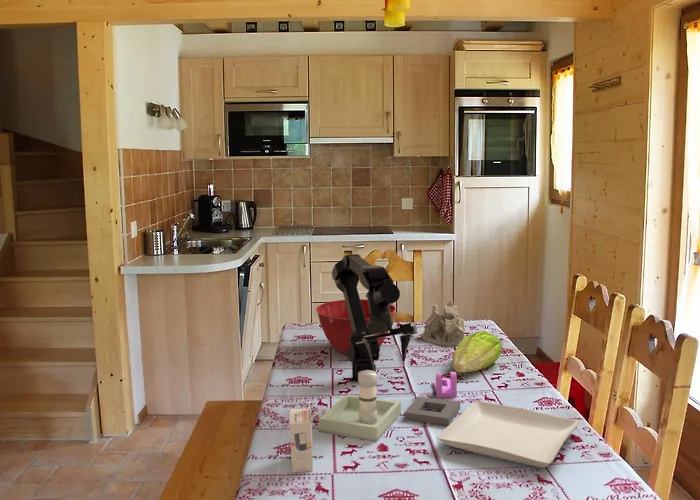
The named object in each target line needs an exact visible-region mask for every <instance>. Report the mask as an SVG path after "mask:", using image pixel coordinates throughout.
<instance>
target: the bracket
mask: <svg viewBox="0 0 700 500" xmlns="http://www.w3.org/2000/svg"><path fill="white" fill-rule="evenodd" d="M435 372H436V373H435V379H434V380H433V386H434V390H435V394H436V398H457V397H458V396H457V395H458V394H457V393H458V392H457V389H458V388H457V386H458V385H457V384H458V383H457V382H458V381H457V371H451V372H450V373H449V374H450V377H449V378H448V377H442V376H443V374H442V372H441V371H435Z"/></svg>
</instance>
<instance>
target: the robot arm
mask: <svg viewBox="0 0 700 500" xmlns="http://www.w3.org/2000/svg"><path fill="white" fill-rule="evenodd" d="M331 275H332V276H331V277H332V280H333V281H334V284H335V286H336V288H337V289H338V290H339V291H341V293H342V294H343V299H344V300H345V302H346V306H347V310H348V314H349V318H350V322H351V326H352V330H353V333H352V334H351V335H350V344H351V346H350V348H349V350H348V353H347V354H346V355H347V360H348V361H349V362H350V363H351V370H352V371H351V372H352V377H351V378H350V382H357V383H358V372H360V371H363V370H372V371H375V372H376V373H377V367H376V366H377V365H376V364H375V361H379V357H380V351H381V346H380V345H379V343H378V341H377V339H376V338H381V337H386V338H387V337H390V336H397V335H399V339H400V347H401V348H400V350H401V359H402V362H403V363H405V361H406V357H407V352H408V347H409V344H410V341H411V338H414V335H416V334H418V330H417V325H415V323H412V322H409V323H405V324H404V323H403V324H399V327H397V328H396V327H395V328H393V325H394V320H393V319H394V318H393V319H392V316H391V314H390V311H389V305H391V304H392V305H393V304H395V303H396V302H397V301H398V300H399V299H400V297H401V292H400V289H399V287H398V286H397V285H396V284H394V279H393V278H392V277H391V276H390V274H389V272H388V271H387V269H386V268H385V267H384V266H383V265H373V264H371V263H369V262H368V261H367V260H365V259H364V258H363V257H361V254H358V253H353V254H346V255H343V257H342V258H341V260H339V261H338V262H337V263H335V264H334V265H333V268H332V270H331ZM359 282H360V284H361V285H362V286H363V288H365V289H366V290H367V292H366V293H365V298H366V299H367V300H368V305H369V311H370V320H369V321H368V323H367V324H366V320H365V316H364V312H363V309H362V305H361V301H360V299H361V297H360V294H359V290H358V284H359ZM367 325H368V327H367ZM386 331H389V332H388V333H386ZM378 333H379V334H378Z"/></svg>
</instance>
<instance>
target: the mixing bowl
mask: <svg viewBox="0 0 700 500" xmlns="http://www.w3.org/2000/svg"><path fill="white" fill-rule="evenodd" d="M360 301H361V305H362V309H363V312H364V316H365V320H366V324H367V323H368V321H369V320H370V311H369V305H368V299H367V298H366V299H365V298H360ZM315 310H316V313H317V315H318V320H319V323H320V326H321V328H322V331H323V333H324V336H325V338H326V339H327V341H328V343H329V344H330V346H332V348H333V349H335V351H338V352H339V353H340V354H341V353H342V354H343V355H347V353H348V350H349V348H350V346H351V344H350V335H351V334H352V333H353V330H352V326H351V322H350V318H349V314H348V310H347V306H346V302H345V299H339V300H332V301H328V302H323V303H322V304H320V305H318V306H317V307H316V308H315ZM396 310H397V307H396V306H395V305H393V304H391V305H389V311H390V314H391V316H392V319H394V316H395V312H396ZM367 327H368V325H367ZM386 333H390V331H386ZM378 334H379V333H378ZM386 338H387V337H381V338H376V339H377V341H378V343H379V345H380V347H381V346H382V345H383V343H384V342H385V341H386Z"/></svg>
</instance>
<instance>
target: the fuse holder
mask: <svg viewBox="0 0 700 500" xmlns="http://www.w3.org/2000/svg"><path fill="white" fill-rule="evenodd" d="M425 409H426V410H425ZM429 410H430V411H429ZM431 410H434V411H431ZM460 410H461V402H460V401H454V400H448V399H447V400H446V399H439V398H433V397H432V398H431V397H426V396H424V397H423V396H417V397H416V399H415V400H413V402H412V403H411V404H410V406H408V407H407V408H406V410H405V411H404V419H403V420H407V421H414V422H420V423H425V424H426V423H427V424H433V425H439V426H446V427H448V426H449V425H450V424H451V423H452V422H453V421H454V420H455V419H454V418H455V417H456V416H457V414H458V413H459V411H460ZM437 411H440V412H437Z"/></svg>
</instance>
